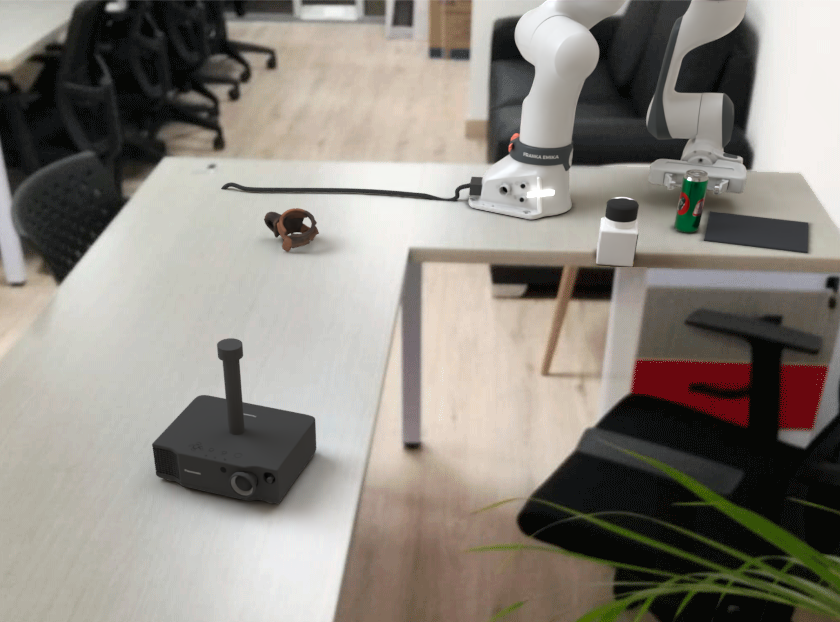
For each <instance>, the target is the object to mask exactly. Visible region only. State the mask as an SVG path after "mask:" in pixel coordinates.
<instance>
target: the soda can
mask: <svg viewBox="0 0 840 622" xmlns="http://www.w3.org/2000/svg"><path fill="white" fill-rule="evenodd" d="M707 175H708V173H707V172H705V171H703V170H697V169H692V170H688V171H686V174H685V175H684V176H683V181H682V186H681V187H680V193H679V196H678V197H679V198H678V201H677V202H678V203H677V207H676V214H675V219H674V228H675V230H676V231H678V232H681V233H685V234H691V233H692V234H693V233H696V232H697V231H698V230H699V229H700V226H701V220H702V216H703V211H704V206H705V201H706V196H707V191H708V190H707V186H708V181H709V178H708V176H707Z"/></svg>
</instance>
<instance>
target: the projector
mask: <svg viewBox="0 0 840 622" xmlns="http://www.w3.org/2000/svg"><path fill="white" fill-rule="evenodd" d="M243 346H244V345H243V341H242V340H241V339H238V338H234V337H233V338H232V337H231V338H223V339H220V340H219V341H218V342H217V343H216V351H217V359H219V360H220V361H222V369H223V371H222V372H223V381H224V382H223V383H224V393H225V394H224V395H225V397H219V396H214V395H209V394H208V395H207V394H200V395H197V396H196V397H195V398H194V399H192V401H191V402H190V403H189V404H188V405H187V406H186V407H185V408H184V409H183V410H182V412H180V413H179V415H178V416H177V417H176V418H175V419H174V420H173V421H172V422H171V423H170V424H169V425H168V426H167V427H166V428H165V429H164V431H163V432H162V433H161V434H160V435H159V436H158V437H157V438H156V439H155V440H154V441H153V442H152V443H151V447H152V453H153V460H154V461H153V462H154V468H155V469H154V470H155V475H156V477H158V478H160V479H165V480H167V481H169V482H176V483H178V484H179V485H181V486H182V487H184V488H189V489H193V490H197V491H201V492H202V491H203V492H207V493H212V494H215V495H220V496H224V497H229V498H233V499H237V500H242V501H248V502H249V501H262V502H266V503H269V504H277V505H278V504H280V503H281V501H283V499H284V497H285V496H286V494H287V493H288V491H289V490H290V489H291V487H292V486H293V484H294V483H295V481H296V480H297V479H298V477H299V476H300V474H301V473H302V472H303V471H304V469H305V468H306V466H307V464H309V462H310V461H311V459H312V458H313V456H314V455H315V453H316V451H317V428H316V424H317V423H316V417H314V416H313V415H310V414H307V413H301V412H295V411H290V410H286V409H281V408H276V407H275V408H274V407H269V406H264V405H260V404H254V403H249V402H244V401H243V391H242V390H243V389H242V377H241V363H240V360H241V359H242V358H243V357H244V347H243Z"/></svg>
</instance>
